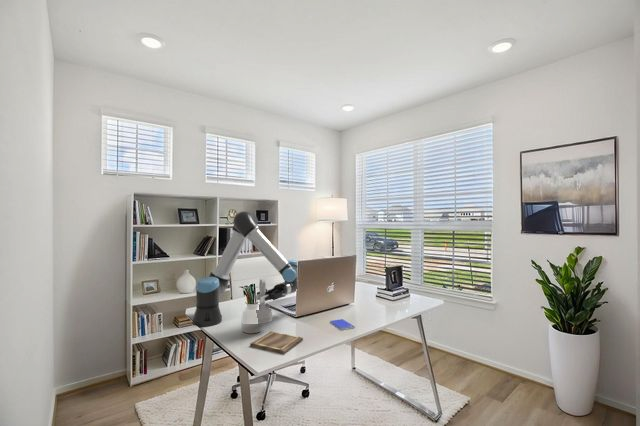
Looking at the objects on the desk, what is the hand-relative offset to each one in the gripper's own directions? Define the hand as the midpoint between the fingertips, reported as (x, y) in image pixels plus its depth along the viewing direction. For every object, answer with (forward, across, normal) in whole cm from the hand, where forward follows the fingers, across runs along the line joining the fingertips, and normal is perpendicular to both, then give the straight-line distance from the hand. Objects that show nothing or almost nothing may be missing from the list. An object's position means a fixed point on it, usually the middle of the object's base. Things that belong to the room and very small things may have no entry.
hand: (256, 299), depth 154 cm
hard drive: (-28, -35, -16) cm, 48 cm away
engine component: (-4, 0, -11) cm, 12 cm away
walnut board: (+7, -17, -16) cm, 24 cm away
